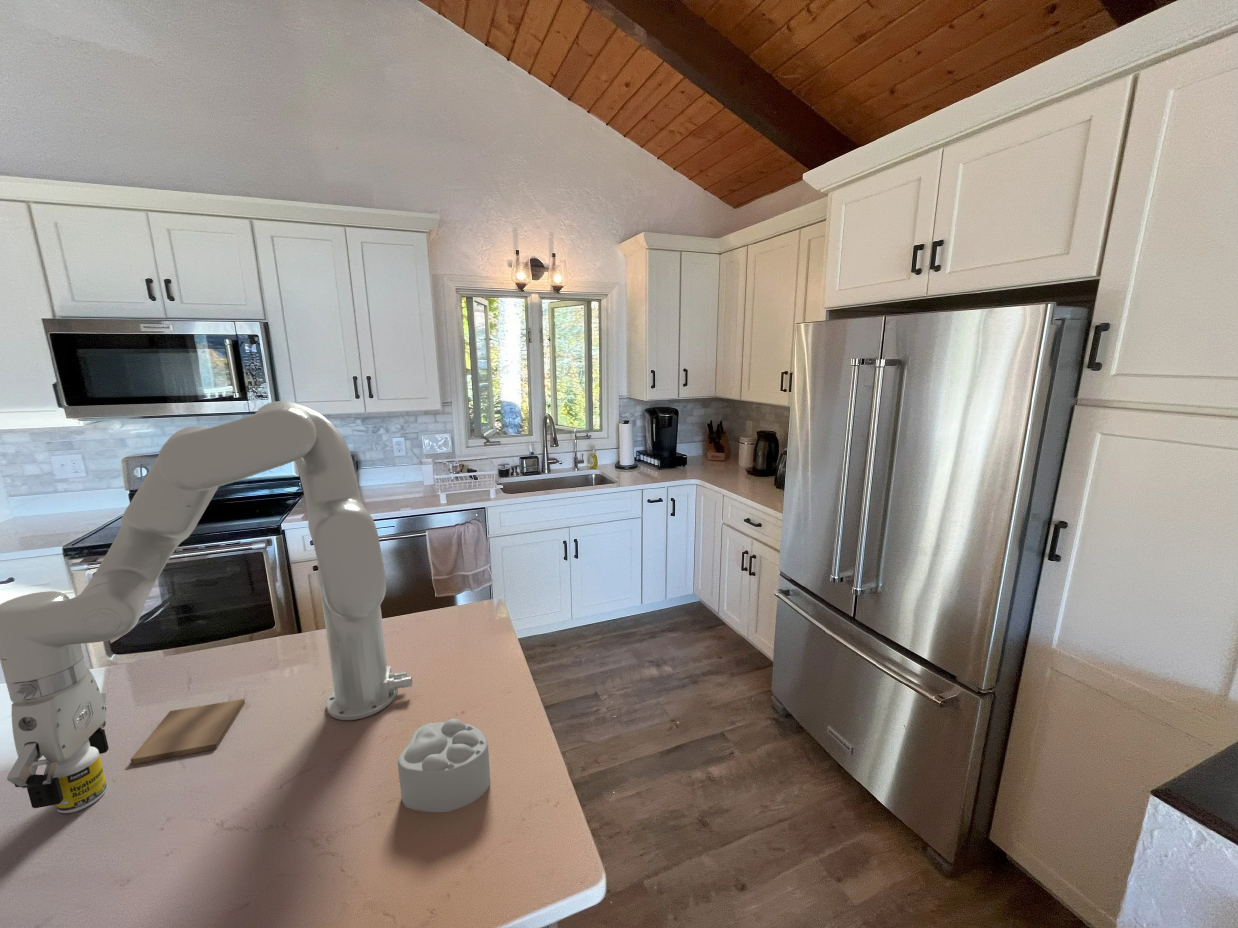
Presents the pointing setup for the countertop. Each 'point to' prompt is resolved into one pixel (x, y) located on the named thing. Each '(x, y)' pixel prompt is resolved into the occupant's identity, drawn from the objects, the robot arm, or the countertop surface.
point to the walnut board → (189, 731)
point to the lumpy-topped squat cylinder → (444, 767)
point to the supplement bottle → (80, 779)
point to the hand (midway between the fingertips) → (73, 777)
